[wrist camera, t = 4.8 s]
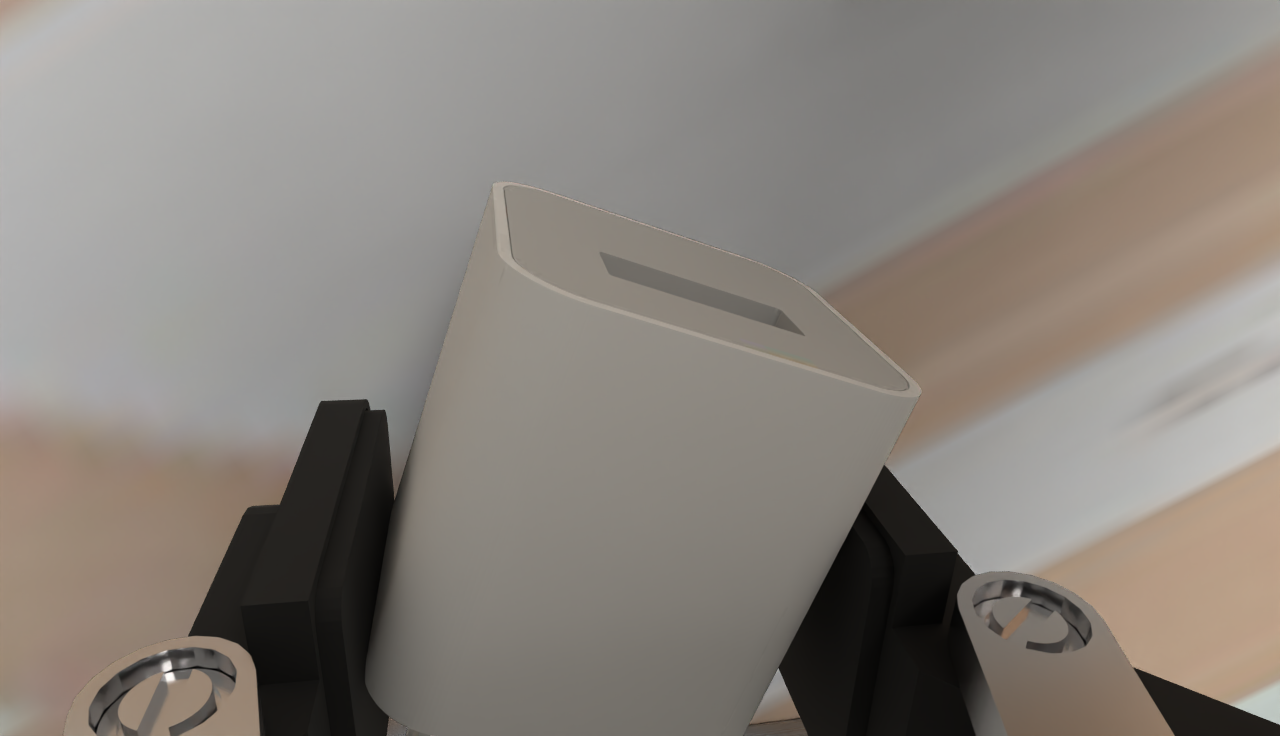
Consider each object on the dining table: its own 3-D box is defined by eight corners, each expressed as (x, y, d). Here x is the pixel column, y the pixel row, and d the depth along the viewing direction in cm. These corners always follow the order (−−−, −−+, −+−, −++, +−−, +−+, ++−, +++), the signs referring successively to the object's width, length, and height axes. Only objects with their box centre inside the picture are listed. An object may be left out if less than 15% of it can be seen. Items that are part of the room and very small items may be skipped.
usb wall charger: (796, 274, 11) (953, 413, 7) (612, 687, 13) (663, 949, 10) (491, 172, 10) (498, 276, 6) (346, 642, 12) (290, 921, 8)
